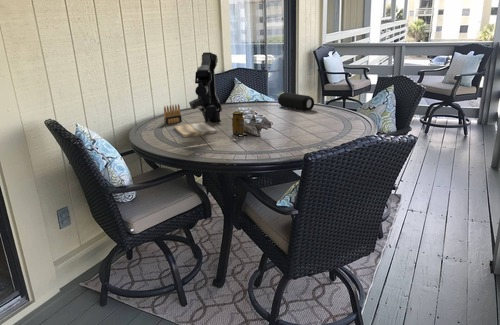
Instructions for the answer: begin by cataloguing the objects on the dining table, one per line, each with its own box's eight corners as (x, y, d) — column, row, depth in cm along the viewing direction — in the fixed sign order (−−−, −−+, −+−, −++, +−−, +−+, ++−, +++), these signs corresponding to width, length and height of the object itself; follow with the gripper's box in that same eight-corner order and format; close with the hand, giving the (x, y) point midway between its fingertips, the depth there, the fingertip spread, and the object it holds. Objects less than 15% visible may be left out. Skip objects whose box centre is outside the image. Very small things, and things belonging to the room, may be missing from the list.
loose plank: (204, 124, 235) (204, 122, 235) (216, 132, 218) (216, 130, 218) (189, 126, 232) (189, 124, 231) (200, 134, 215) (200, 132, 214)
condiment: (241, 132, 222) (240, 110, 218) (248, 135, 215) (247, 113, 211) (229, 134, 219) (228, 112, 215) (235, 137, 212) (234, 115, 208)
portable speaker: (314, 110, 270) (315, 95, 266) (305, 112, 263) (305, 97, 260) (286, 105, 287) (286, 91, 284) (276, 107, 281) (276, 93, 278)
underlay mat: (206, 125, 237) (206, 124, 237) (220, 134, 219) (220, 132, 218) (168, 131, 228) (168, 129, 228) (179, 140, 209) (179, 138, 209)
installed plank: (189, 127, 232) (188, 124, 231) (200, 135, 215) (200, 132, 214) (173, 129, 228) (173, 126, 228) (184, 137, 211) (184, 134, 211)
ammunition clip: (165, 126, 239) (163, 106, 235) (164, 125, 241) (162, 105, 237) (182, 123, 245) (180, 103, 241) (180, 122, 246) (179, 103, 242)
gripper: (184, 92, 219) (187, 120, 224) (195, 97, 203) (198, 127, 208) (204, 90, 223) (205, 118, 229) (216, 95, 208) (218, 125, 213)
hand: (206, 122), depth 220 cm, fingers closed
